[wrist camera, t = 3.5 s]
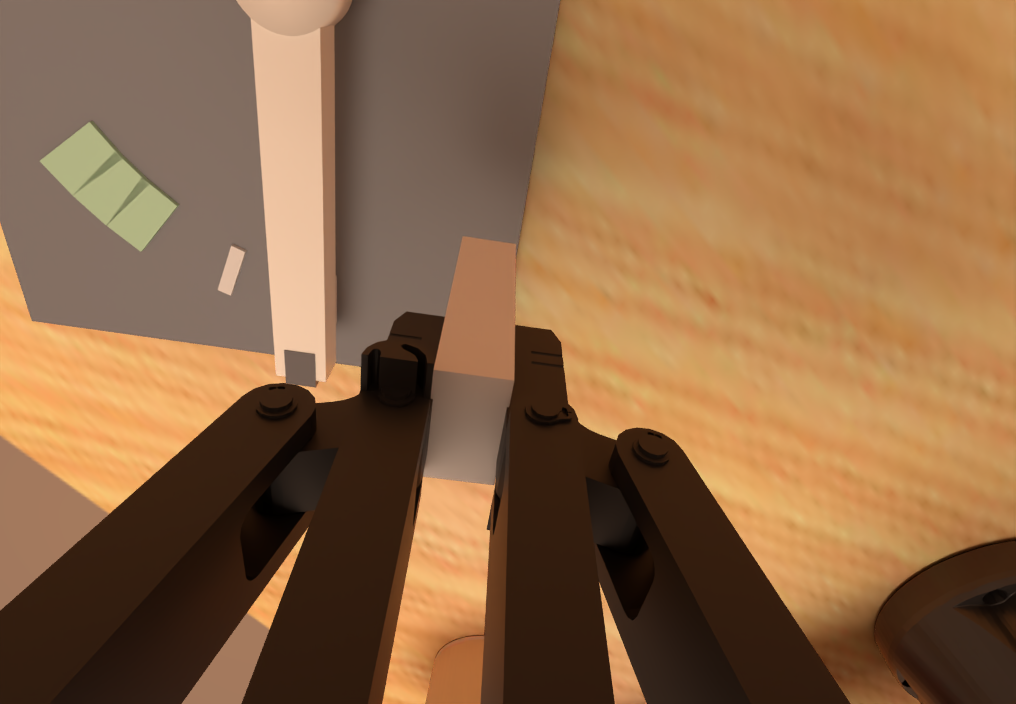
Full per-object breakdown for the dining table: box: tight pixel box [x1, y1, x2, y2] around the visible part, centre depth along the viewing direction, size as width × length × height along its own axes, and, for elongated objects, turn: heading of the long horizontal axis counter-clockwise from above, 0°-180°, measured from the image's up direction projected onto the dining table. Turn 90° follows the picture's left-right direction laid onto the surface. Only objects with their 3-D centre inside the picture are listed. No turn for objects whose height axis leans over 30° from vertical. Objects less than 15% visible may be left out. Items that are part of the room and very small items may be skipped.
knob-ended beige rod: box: [236, 0, 352, 387], centre depth 20 cm, size 16×3×2 cm, turn 171°
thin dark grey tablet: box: [0, 0, 560, 367], centre depth 23 cm, size 22×18×4 cm
